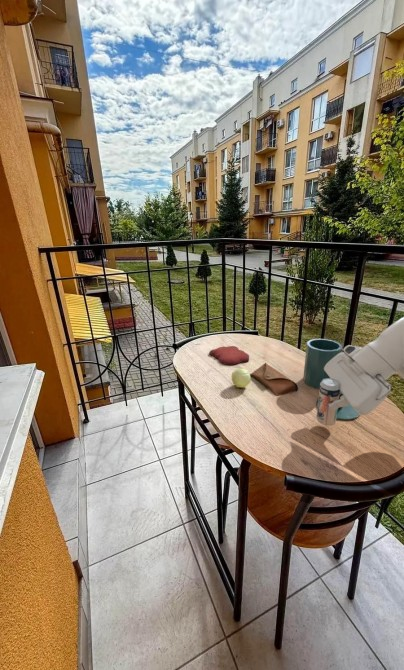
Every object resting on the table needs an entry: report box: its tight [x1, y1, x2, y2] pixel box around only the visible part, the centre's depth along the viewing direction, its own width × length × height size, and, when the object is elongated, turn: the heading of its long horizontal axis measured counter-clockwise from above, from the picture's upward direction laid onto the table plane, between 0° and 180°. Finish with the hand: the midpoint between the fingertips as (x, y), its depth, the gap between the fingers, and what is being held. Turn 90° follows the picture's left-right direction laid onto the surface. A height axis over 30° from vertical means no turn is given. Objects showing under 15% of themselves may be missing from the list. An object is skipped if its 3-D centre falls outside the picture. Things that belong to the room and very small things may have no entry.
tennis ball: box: [231, 368, 252, 388], centre depth 97 cm, size 6×7×7 cm
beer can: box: [316, 378, 340, 427], centre depth 73 cm, size 5×5×12 cm
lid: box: [315, 391, 361, 421], centre depth 82 cm, size 12×12×6 cm
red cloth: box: [208, 345, 250, 366], centre depth 121 cm, size 18×14×2 cm
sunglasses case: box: [249, 362, 299, 397], centre depth 99 cm, size 18×7×7 cm
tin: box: [302, 338, 343, 390], centre depth 96 cm, size 11×11×14 cm
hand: (325, 400), depth 73 cm, fingers closed on beer can, 5 cm apart
